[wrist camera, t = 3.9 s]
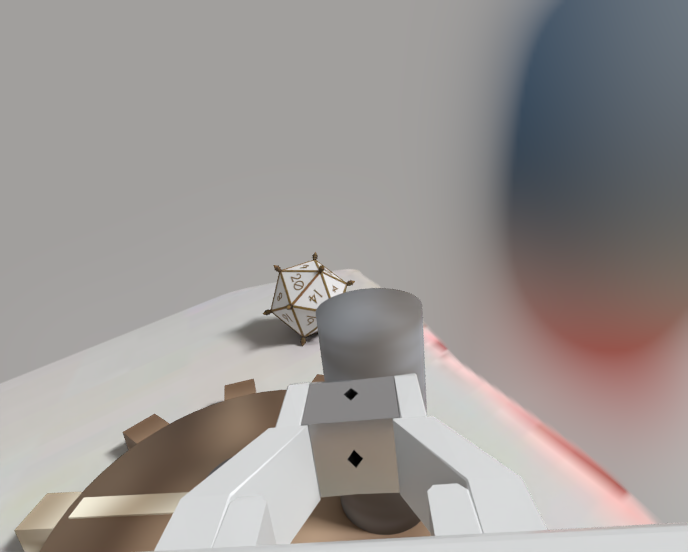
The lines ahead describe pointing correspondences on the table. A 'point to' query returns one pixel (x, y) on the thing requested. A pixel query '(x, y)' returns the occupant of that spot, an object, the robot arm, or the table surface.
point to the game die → (304, 295)
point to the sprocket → (241, 445)
